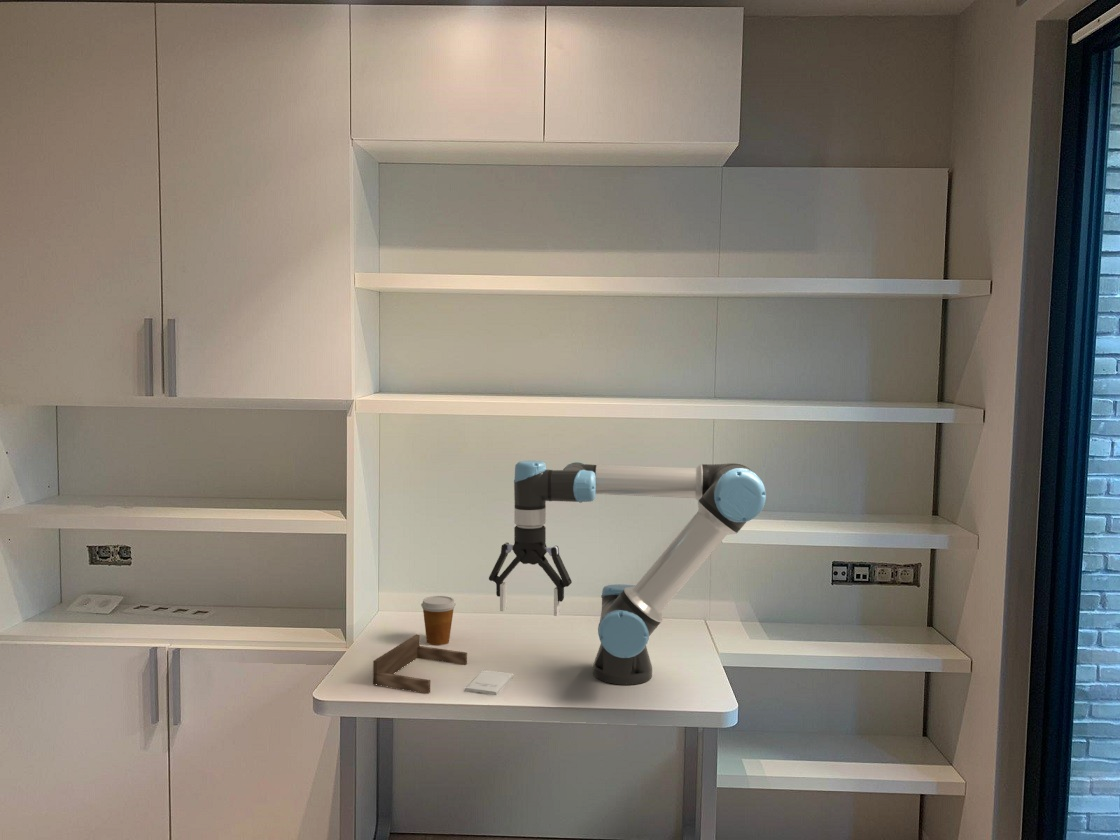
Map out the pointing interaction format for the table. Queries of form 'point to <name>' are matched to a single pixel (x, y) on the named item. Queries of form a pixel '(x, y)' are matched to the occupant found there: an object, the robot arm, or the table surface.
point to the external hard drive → (489, 682)
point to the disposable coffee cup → (438, 618)
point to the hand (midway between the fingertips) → (529, 612)
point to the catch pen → (403, 656)
